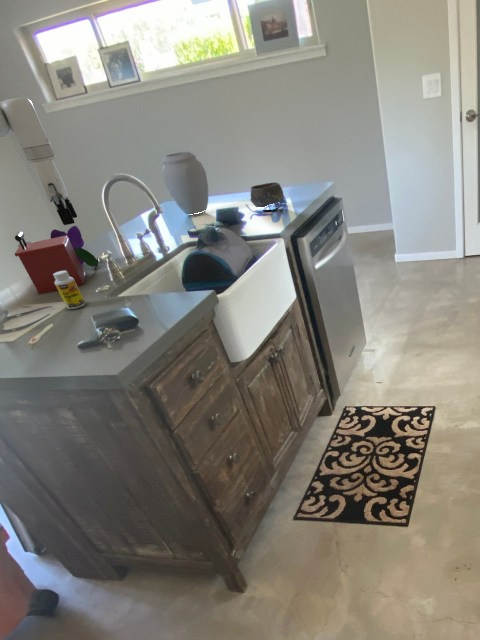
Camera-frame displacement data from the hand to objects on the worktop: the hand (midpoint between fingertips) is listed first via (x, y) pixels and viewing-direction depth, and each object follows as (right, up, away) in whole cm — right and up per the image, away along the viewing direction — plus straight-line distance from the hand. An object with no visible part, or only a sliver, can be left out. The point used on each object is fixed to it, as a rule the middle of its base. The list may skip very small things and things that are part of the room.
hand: (70, 221), depth 157 cm
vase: (+5, +55, +92) cm, 107 cm away
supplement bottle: (-1, -25, +5) cm, 25 cm away
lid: (-20, +1, +18) cm, 27 cm away
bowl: (+43, +50, +80) cm, 103 cm away
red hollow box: (-19, -8, +26) cm, 33 cm away
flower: (-18, +4, +39) cm, 43 cm away
